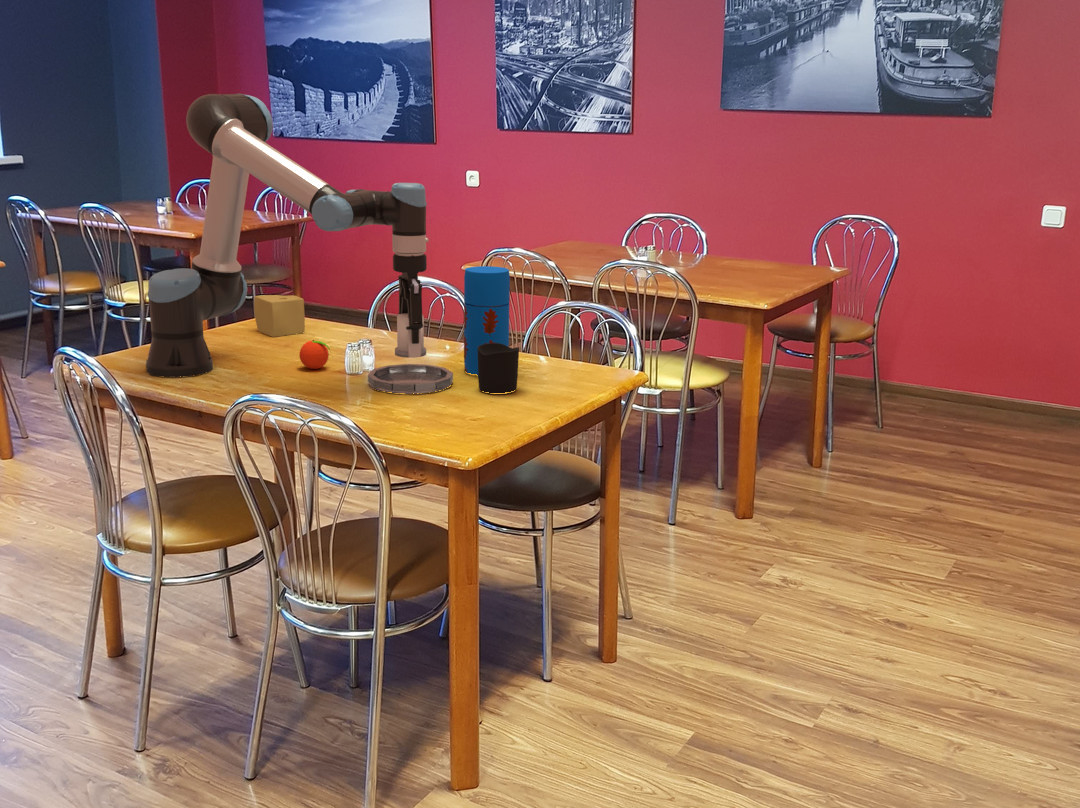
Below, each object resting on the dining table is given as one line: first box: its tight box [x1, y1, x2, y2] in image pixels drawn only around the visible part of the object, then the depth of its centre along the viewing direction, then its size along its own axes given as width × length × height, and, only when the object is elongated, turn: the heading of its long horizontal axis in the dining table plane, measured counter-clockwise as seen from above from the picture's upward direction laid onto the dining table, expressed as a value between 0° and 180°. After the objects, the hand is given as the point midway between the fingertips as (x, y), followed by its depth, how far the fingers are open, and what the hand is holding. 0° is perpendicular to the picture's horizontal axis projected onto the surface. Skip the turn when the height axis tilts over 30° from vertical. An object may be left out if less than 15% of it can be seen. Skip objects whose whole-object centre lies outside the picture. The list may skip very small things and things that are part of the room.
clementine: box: [299, 339, 332, 370], centre depth 266 cm, size 8×7×7 cm
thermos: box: [463, 265, 511, 375], centre depth 264 cm, size 11×11×25 cm
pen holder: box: [477, 343, 520, 393], centre depth 250 cm, size 9×9×10 cm
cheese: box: [253, 294, 306, 338], centre depth 304 cm, size 10×11×10 cm
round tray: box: [367, 363, 454, 395], centre depth 255 cm, size 19×19×2 cm
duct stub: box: [394, 313, 427, 359], centre depth 252 cm, size 7×7×9 cm
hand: (410, 353), depth 253 cm, fingers closed on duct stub, 7 cm apart
